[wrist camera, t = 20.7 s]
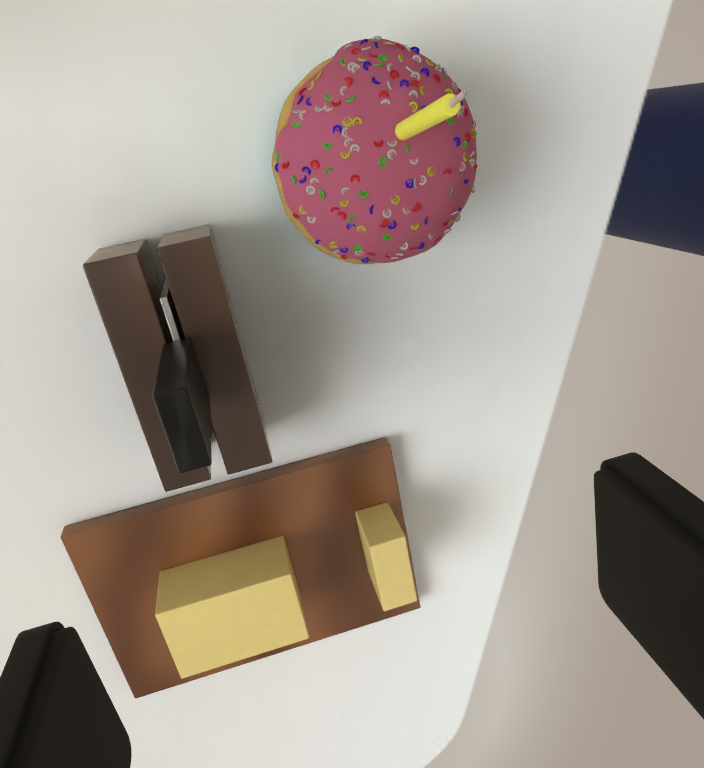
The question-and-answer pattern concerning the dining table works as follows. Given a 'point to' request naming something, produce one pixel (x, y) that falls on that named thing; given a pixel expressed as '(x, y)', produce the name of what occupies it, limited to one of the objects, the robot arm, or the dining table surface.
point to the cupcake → (375, 153)
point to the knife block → (150, 331)
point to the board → (232, 531)
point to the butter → (230, 607)
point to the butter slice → (386, 556)
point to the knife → (182, 396)
